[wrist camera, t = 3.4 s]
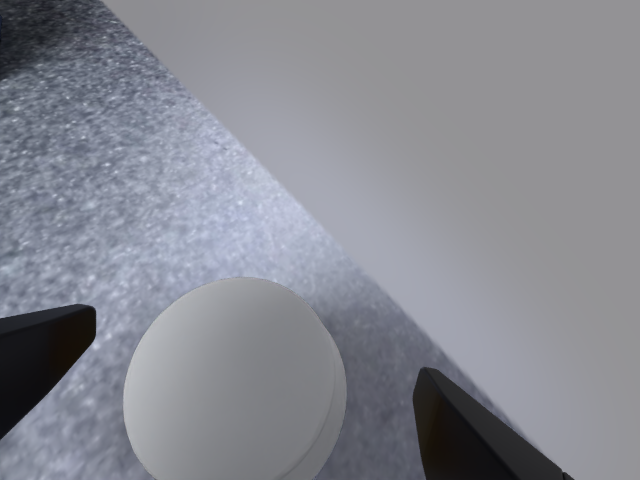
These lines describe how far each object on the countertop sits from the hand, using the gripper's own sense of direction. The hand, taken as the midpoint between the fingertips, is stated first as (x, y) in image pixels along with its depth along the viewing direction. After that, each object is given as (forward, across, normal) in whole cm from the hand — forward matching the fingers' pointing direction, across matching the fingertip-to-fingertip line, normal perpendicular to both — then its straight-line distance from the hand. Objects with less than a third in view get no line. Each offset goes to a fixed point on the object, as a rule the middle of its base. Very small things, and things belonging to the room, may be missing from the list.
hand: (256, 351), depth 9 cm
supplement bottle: (+5, 0, +6) cm, 7 cm away
